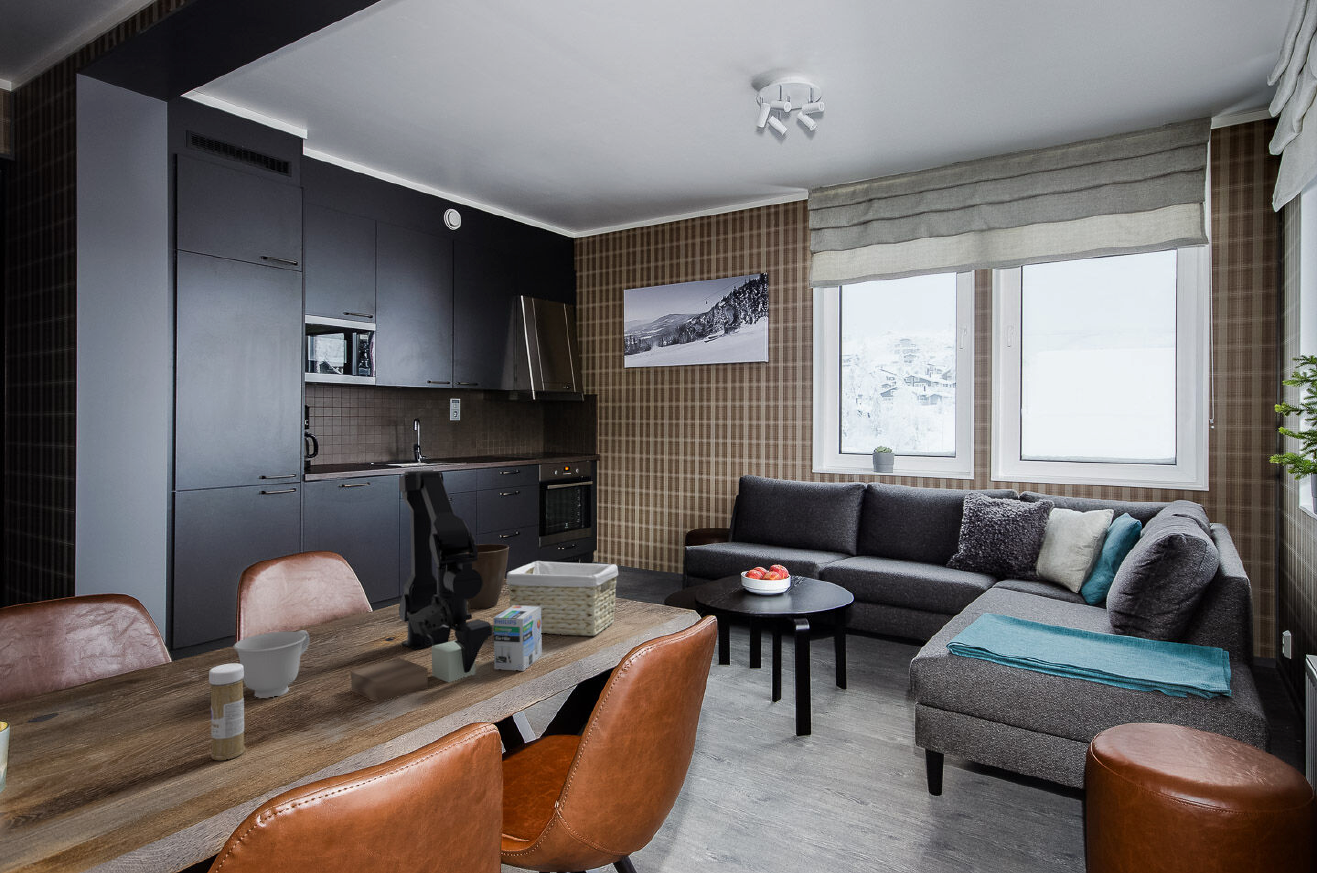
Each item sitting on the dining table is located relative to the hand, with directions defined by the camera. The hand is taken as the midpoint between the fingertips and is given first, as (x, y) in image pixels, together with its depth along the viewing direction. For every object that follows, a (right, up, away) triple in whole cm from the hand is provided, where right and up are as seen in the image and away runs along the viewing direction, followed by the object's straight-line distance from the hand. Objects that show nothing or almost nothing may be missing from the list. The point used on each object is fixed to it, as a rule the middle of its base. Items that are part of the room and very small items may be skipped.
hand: (453, 667), depth 145 cm
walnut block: (-10, -2, -7) cm, 13 cm away
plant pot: (-8, -1, +56) cm, 57 cm away
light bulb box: (+12, -2, +7) cm, 14 cm away
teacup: (-31, -2, -7) cm, 32 cm away
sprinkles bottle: (-25, -3, -34) cm, 42 cm away
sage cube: (0, -2, 0) cm, 2 cm away
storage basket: (+18, -1, +34) cm, 38 cm away
